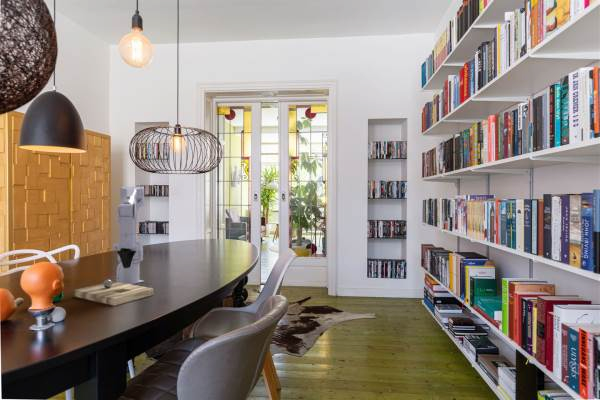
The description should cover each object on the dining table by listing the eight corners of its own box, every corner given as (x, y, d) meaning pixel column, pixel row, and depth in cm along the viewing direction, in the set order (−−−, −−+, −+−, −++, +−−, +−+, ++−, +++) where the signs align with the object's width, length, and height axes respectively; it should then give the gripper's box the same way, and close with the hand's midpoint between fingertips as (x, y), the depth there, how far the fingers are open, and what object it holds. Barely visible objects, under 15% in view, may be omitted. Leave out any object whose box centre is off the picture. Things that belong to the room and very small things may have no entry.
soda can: (66, 299, 129) (66, 267, 129) (52, 303, 125) (52, 269, 125) (56, 298, 131) (56, 266, 131) (42, 302, 126) (42, 268, 126)
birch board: (74, 296, 134) (74, 289, 134) (114, 287, 148) (114, 281, 148) (114, 305, 123) (114, 298, 123) (153, 294, 137) (153, 288, 137)
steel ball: (101, 288, 137) (101, 279, 137) (109, 286, 139) (109, 278, 139) (106, 289, 135) (106, 280, 135) (114, 287, 138) (114, 279, 138)
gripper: (106, 233, 142) (105, 267, 142) (129, 235, 135) (129, 271, 135) (122, 232, 148) (121, 264, 148) (145, 234, 141) (145, 268, 141)
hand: (126, 267), depth 142 cm, fingers closed
